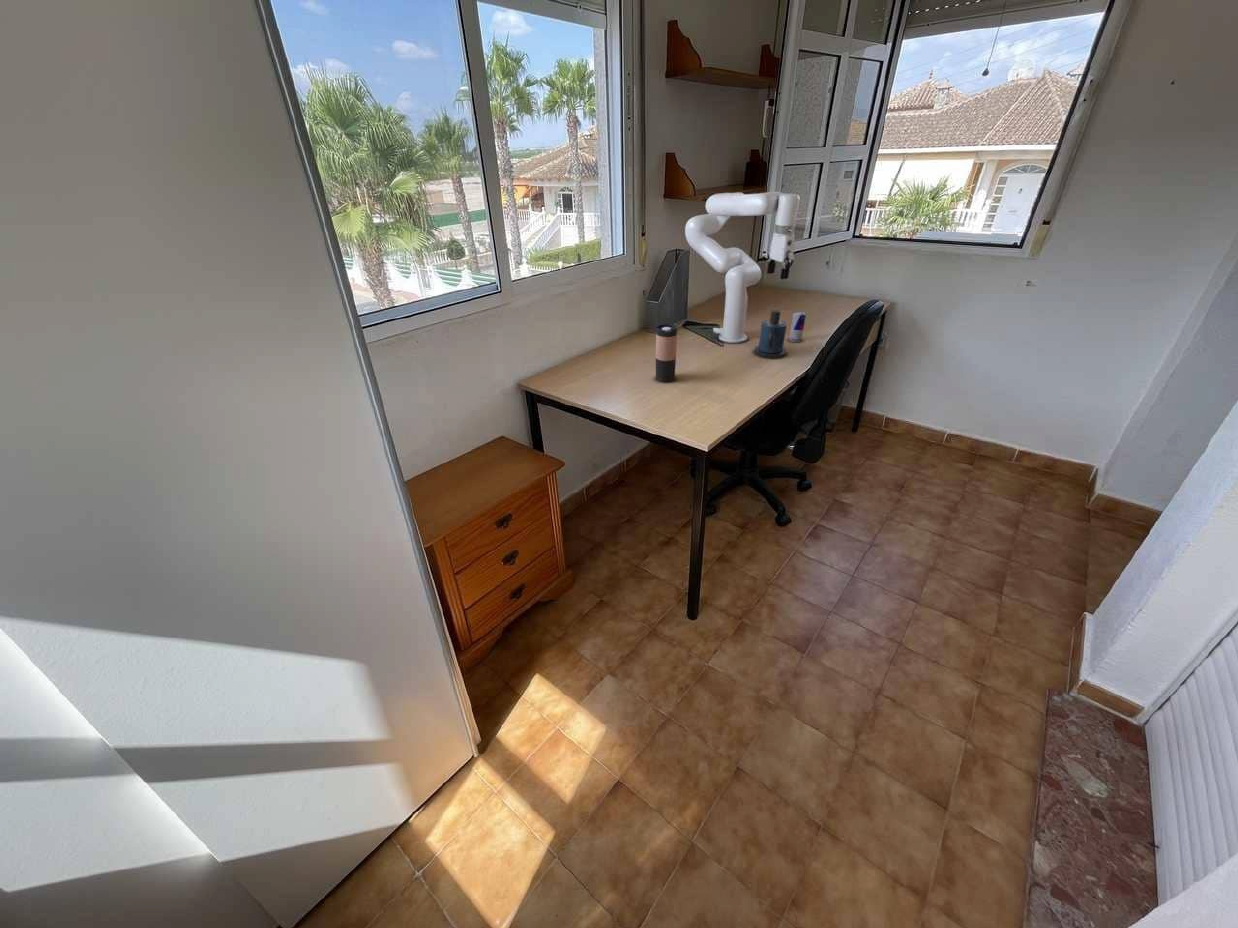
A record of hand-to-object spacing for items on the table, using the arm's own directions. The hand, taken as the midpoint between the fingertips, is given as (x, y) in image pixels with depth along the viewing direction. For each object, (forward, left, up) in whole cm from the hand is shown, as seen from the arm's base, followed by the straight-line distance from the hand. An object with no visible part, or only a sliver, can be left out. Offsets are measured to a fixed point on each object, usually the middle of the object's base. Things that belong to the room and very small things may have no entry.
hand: (777, 276), depth 210 cm
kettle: (+2, -6, -28) cm, 29 cm away
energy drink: (+11, +14, -30) cm, 35 cm away
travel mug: (-33, -46, -30) cm, 64 cm away
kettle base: (+2, -6, -30) cm, 31 cm away
